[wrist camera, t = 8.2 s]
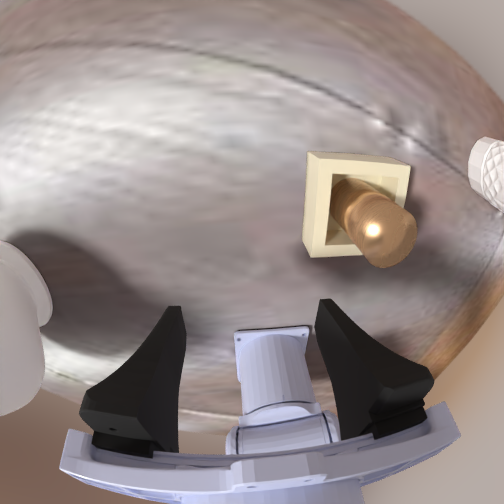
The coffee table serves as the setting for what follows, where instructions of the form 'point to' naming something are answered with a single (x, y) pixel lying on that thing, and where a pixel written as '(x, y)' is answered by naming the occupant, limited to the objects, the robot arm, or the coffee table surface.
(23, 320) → the decorative vase
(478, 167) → the white cup
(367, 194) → the brown cylinder
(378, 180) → the cream square tray
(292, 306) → the coffee table surface
